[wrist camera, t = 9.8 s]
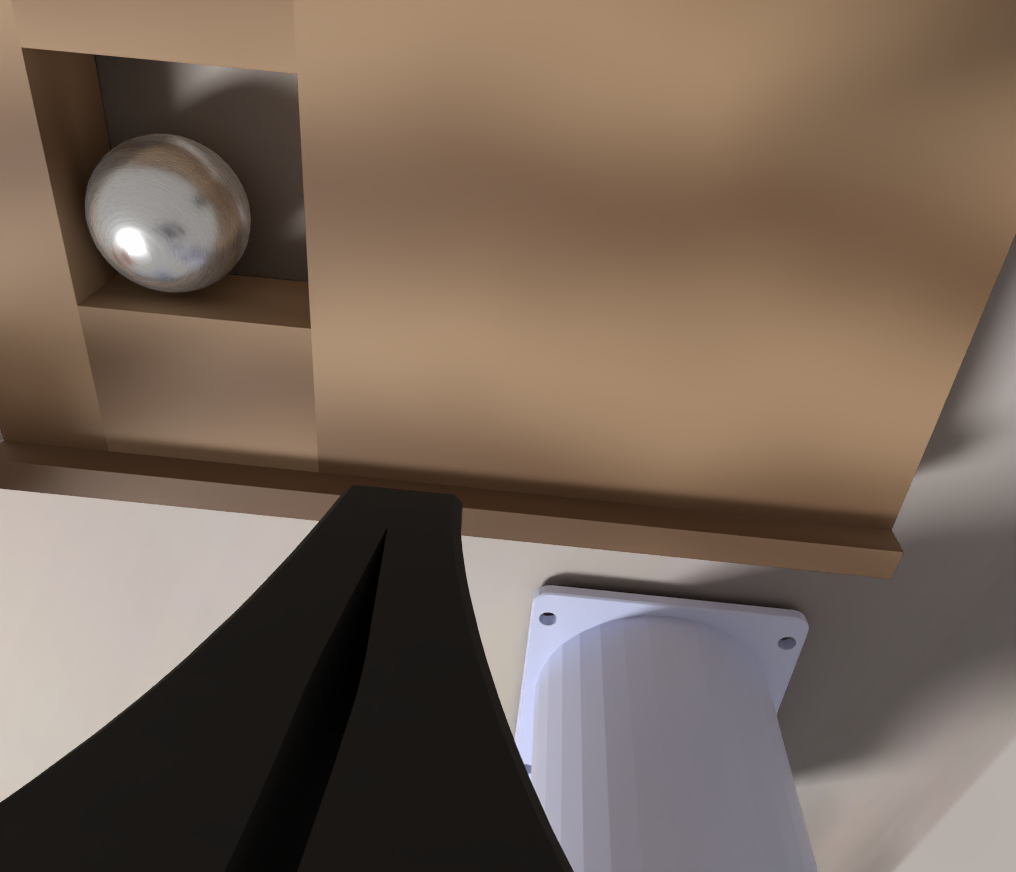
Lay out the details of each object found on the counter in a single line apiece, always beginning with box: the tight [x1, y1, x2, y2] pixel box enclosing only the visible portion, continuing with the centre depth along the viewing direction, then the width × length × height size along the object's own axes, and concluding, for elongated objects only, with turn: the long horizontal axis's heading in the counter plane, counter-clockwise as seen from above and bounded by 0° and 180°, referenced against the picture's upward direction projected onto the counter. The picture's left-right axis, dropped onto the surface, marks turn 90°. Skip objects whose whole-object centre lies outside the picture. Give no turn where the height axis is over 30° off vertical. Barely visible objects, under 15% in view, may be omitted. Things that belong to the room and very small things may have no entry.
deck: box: [0, 0, 1016, 579], centre depth 17 cm, size 14×21×3 cm, turn 85°
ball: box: [85, 134, 251, 292], centre depth 17 cm, size 3×3×3 cm
